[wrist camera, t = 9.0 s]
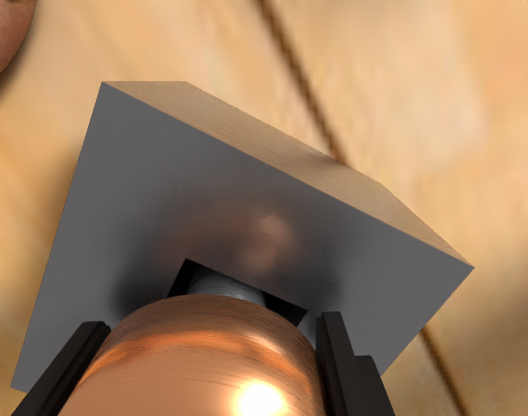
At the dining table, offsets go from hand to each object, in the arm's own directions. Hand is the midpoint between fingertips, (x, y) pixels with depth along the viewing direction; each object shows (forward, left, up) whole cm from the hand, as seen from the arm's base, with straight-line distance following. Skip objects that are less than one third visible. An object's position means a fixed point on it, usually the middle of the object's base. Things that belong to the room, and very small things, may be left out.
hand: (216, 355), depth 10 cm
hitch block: (0, 0, -10) cm, 10 cm away
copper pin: (0, 0, -7) cm, 7 cm away
